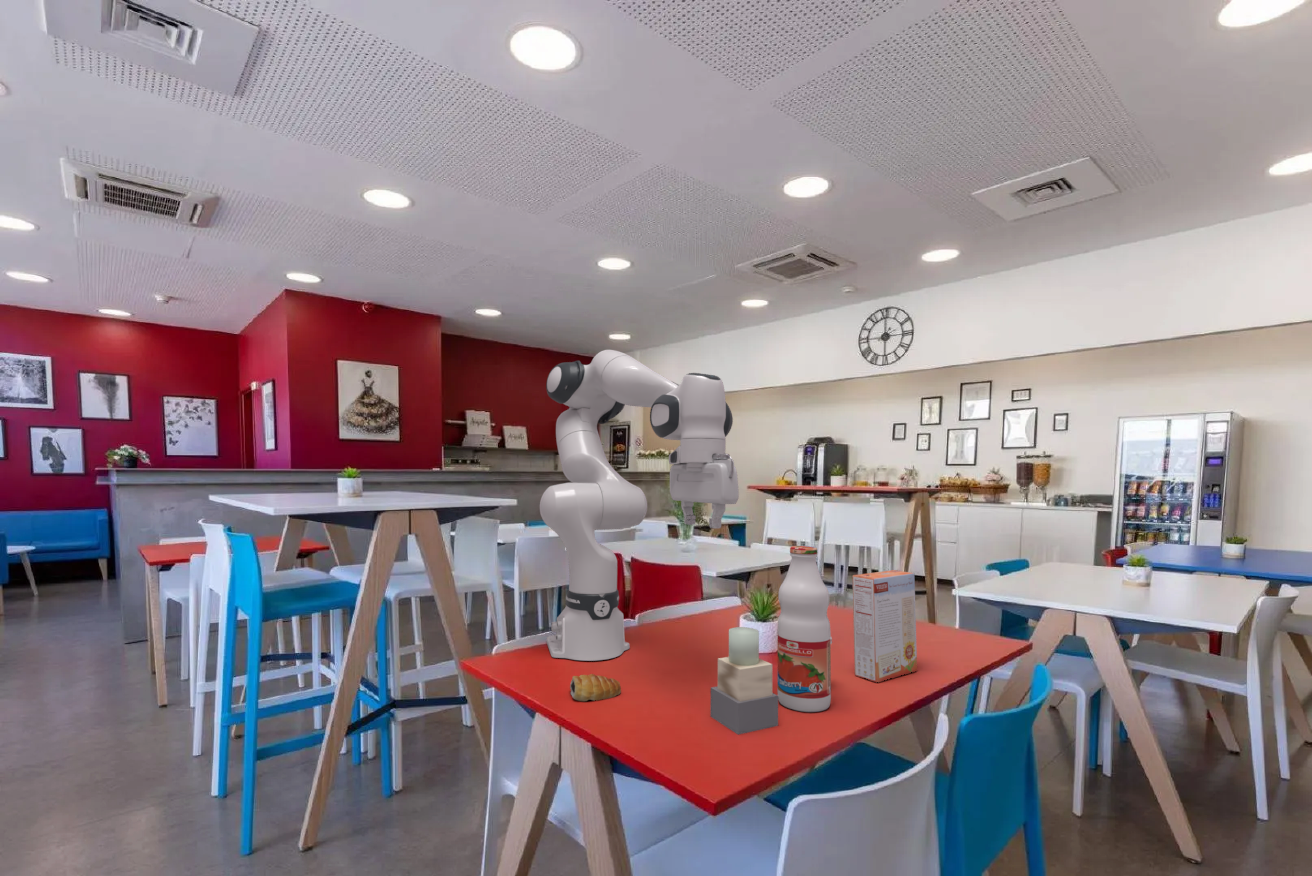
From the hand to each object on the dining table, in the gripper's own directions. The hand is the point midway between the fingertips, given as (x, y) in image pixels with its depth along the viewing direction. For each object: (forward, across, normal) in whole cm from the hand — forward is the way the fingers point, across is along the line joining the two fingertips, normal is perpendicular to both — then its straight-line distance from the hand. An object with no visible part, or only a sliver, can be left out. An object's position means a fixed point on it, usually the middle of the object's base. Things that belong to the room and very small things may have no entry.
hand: (702, 526), depth 116 cm
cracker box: (+31, -7, -41) cm, 52 cm away
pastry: (+32, +7, +19) cm, 38 cm away
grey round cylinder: (+21, -15, +1) cm, 26 cm away
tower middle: (+26, -15, +1) cm, 30 cm away
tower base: (+31, -15, +1) cm, 35 cm away
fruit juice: (+31, -13, -14) cm, 37 cm away
